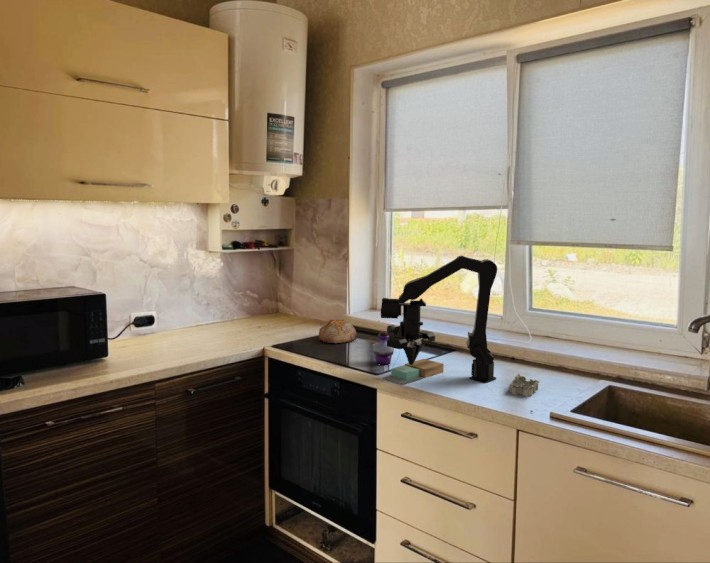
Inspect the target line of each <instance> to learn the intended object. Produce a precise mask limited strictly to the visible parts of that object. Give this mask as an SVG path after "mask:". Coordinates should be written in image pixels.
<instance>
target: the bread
mask: <svg viewBox="0 0 710 563" xmlns="http://www.w3.org/2000/svg"><path fill="white" fill-rule="evenodd" d="M356 339H357V330H356V329H355V327H354V326H353V324H352V323H349V322H347V321H346V320H345V319H329V320H328V322H326V323H325V324H323V326H321V327H320V328H319V331H318V340H321V341H320V342H322V341H323V342H322V343H324V342H327V343H326V344H328V343H335V344H334V345H338V344H337V343H340V344H345V343H346V342H347V343H353V342H355V341H354V340H356ZM352 341H353V342H352Z"/></svg>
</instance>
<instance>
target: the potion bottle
mask: <svg viewBox="0 0 710 563" xmlns="http://www.w3.org/2000/svg"><path fill="white" fill-rule="evenodd" d="M388 338H390V335H388V334H387V330H380V331H378V335H377V340H379V342H376V343H373V344H372V349H373V354H374V356H375V364H376V363H377V364H380V365H379V366H385V365H387V366H389V365H388V364H390V363H391V361H392V356H393V355H394V351H395V348H392V347H387V340H388ZM377 364H376V365H377ZM390 365H391V364H390Z"/></svg>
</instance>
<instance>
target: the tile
mask: <svg viewBox="0 0 710 563" xmlns="http://www.w3.org/2000/svg"><path fill="white" fill-rule="evenodd" d="M390 373H391V376H395V377H398V378H401V379H405V380H409V379H412V378H416V377H419V369H415V368H411V367H408V366H405V364H404V365H399V366H397V367H392V368H391V372H390Z"/></svg>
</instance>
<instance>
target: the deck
mask: <svg viewBox="0 0 710 563" xmlns="http://www.w3.org/2000/svg"><path fill="white" fill-rule="evenodd" d="M404 366H408V367H411V368H415V369H419V376H420V377H423V379H426V377H427V378H429V377H433V376H436V375H438V374H442V373H444V363H443V362H441V363H440V362H438V361H435V360H430V359H426V358H422V359H421V358H420V359H416V360H415V361H414V363H413V365H410V364H409V362H407V363H405V364H404Z"/></svg>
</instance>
